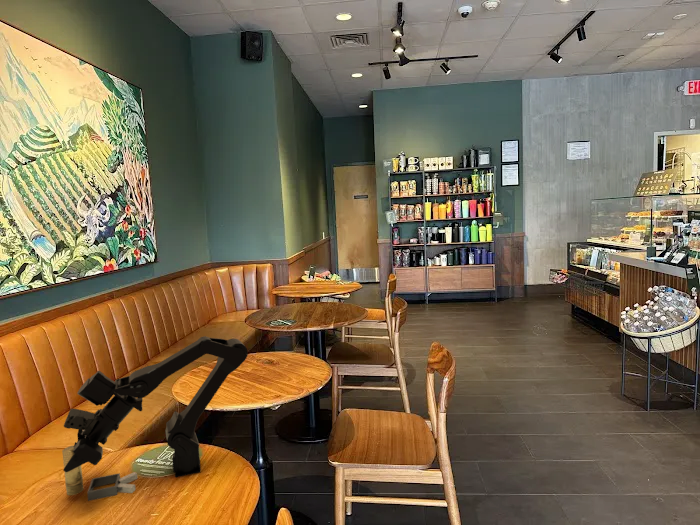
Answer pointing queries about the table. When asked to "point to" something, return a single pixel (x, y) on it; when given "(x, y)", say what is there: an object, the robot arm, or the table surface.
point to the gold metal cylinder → (72, 474)
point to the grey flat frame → (111, 491)
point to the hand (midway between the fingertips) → (66, 467)
